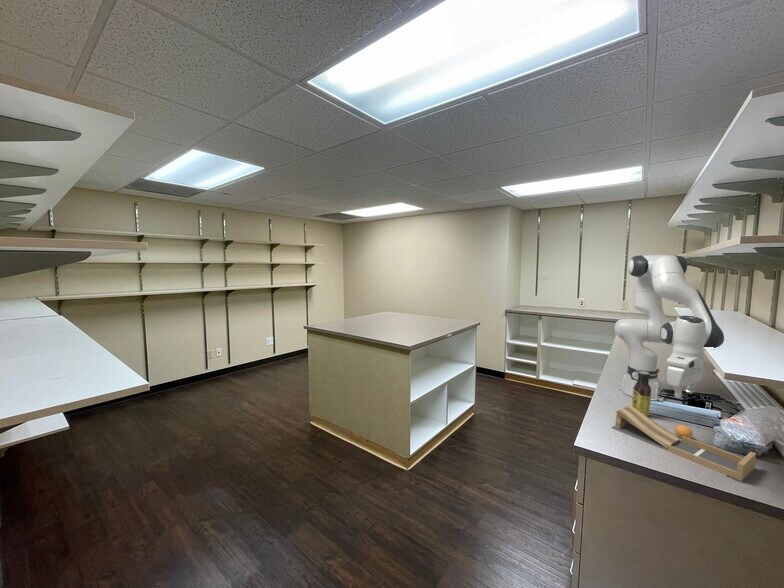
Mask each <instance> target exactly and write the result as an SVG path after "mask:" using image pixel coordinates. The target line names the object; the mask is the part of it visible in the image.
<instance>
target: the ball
mask: <svg viewBox="0 0 784 588" xmlns="http://www.w3.org/2000/svg"><path fill="white" fill-rule="evenodd" d="M674 433H675V436H677V437H678V438H680V439H682V436H685V437H687V438H690V439H692V437H693V431H692V429H691V428H690V427H688V426H686V425H684V424H679V425H677V426H676V427H675V428H674Z"/></svg>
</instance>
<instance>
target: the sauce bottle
mask: <svg viewBox="0 0 784 588" xmlns="http://www.w3.org/2000/svg"><path fill="white" fill-rule="evenodd" d="M649 377H650V374H649V373H648V372H645V371H638V381H637V382H636V384H635V386H634V388H633V397H632V396H631V397H632V398H631V399H632V400H631V407H633V408H635V409H636V410H638V411H639V412H641V413H642V414H644V415H645V416H647V417H648V418H649V415H650V410H651V409H650V408H651V401H652V400H651V387H650V386H649V384H648V383H649Z"/></svg>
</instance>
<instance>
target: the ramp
mask: <svg viewBox="0 0 784 588" xmlns="http://www.w3.org/2000/svg"><path fill="white" fill-rule="evenodd" d="M629 424H633V425H634V426H636V427H637V428H638V429H640V430H641V431H643V432H644V433H645V434H647V435H648V436H650V437H651V438H653V439H654V440H655V441H657V442H658V443H660V444H661V445H663V446H664V447H665V448H668V445H673V444H675V443H676V442H678V441H679V440H681V438H680V437H678V436H677V435H676V434H674V433H672V432H671V431H669V430H667V429H666V428H665V427H663V426H662V425H660V424H659V423H657V422H656V421H654V420H653V419H651V418H650V417H649V416H648V417H647V416H645V415H644V414H642V413H641V412H639V411H638V410H636V409H635V408H633V407H632V405H631V404H629V405H628V406H624V407H623V408H620V409H619V410H617V411H616V415H615V425H614V426H615V427H616V428H619V429H621V428H623V427H625V426H627V425H629Z"/></svg>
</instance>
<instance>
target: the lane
mask: <svg viewBox="0 0 784 588" xmlns="http://www.w3.org/2000/svg"><path fill="white" fill-rule="evenodd" d="M610 428H611V429H612V430H615V431H618V432H620V433H622V434H625V435H627V436H630V437H633V438H635V439H637V440H640V441H642V442H644V443H648V444H650V445H652V446H655V447H657V448H659V449H662V450H665V451H666V452H670V453H672V454H674V455H675V456H678V457H681V458H684V459H685V460H689V461H692V462H694V463H696V464H699V465H701V466H702V467H703V466H704V467H706V468H707V469H708V468H709V469H711V470H712V471H715V472H719V473H720V474H723V475H725V476H726V477H727V478H729V479H732V480H734V479H735V481H738V482H739V481H740V483H741V484H743V483H744V482H746V480H748V478H749V477H750V476H751V475H752V474H753V473H754V472H755V471H756V470H757V469H756V468H755V464H756V458H757V457H756V456H757V453H756V452H753V451H750V452H748V453H747V454H746V455H745V456H744V457H742V456H739V455H736V454H733V453H731V452H729V451H727V450H726V451H725V450H724V449H720V448H718V447H714V446H712V445H710V444H709V445H708V444H706V443H703V442H701V441H698V440H695V439H692V438H687V437H685V436H682V438H681V439H680V440H679V441H678V442H676V443H675V444H673V445H668V448H665V447H664V446H663V445H661V444H660V443H658V442H657V441H655V440H654V439H653V438H651V437H650V436H648V435H647V434H645V433H644V432H643V431H641V430H640V429H638V428H637V427H636V426H634V425H633V424H629V425H627V426H625V427H623V428H621V429H619V428H616V427H615V425H614V426H611V427H610Z"/></svg>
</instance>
